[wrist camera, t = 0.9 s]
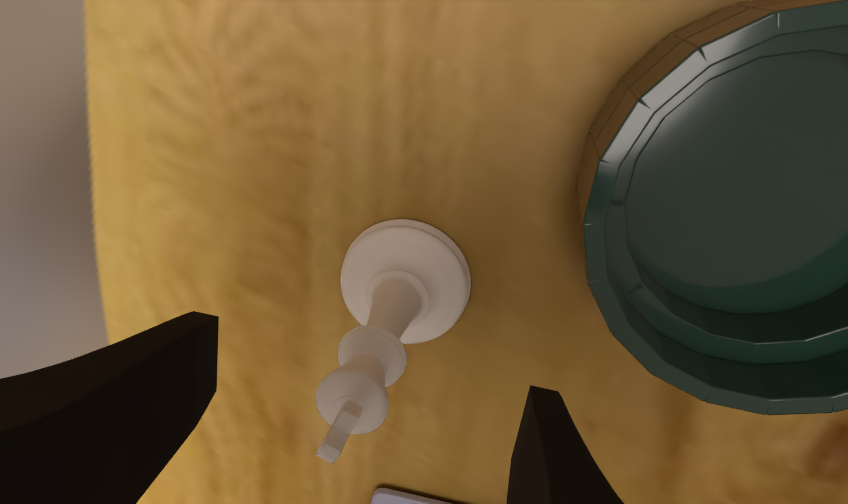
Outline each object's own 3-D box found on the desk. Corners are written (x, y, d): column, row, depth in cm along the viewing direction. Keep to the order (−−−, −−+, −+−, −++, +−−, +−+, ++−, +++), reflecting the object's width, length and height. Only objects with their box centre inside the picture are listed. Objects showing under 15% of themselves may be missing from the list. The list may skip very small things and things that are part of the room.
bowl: (867, 369, 24) (936, 452, 20) (543, 303, 25) (544, 368, 21) (1036, 30, 19) (1173, 46, 15) (627, -34, 20) (650, -37, 16)
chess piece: (322, 296, 26) (204, 469, 17) (379, 193, 24) (280, 328, 15) (430, 358, 26) (373, 561, 17) (495, 262, 24) (469, 434, 15)
